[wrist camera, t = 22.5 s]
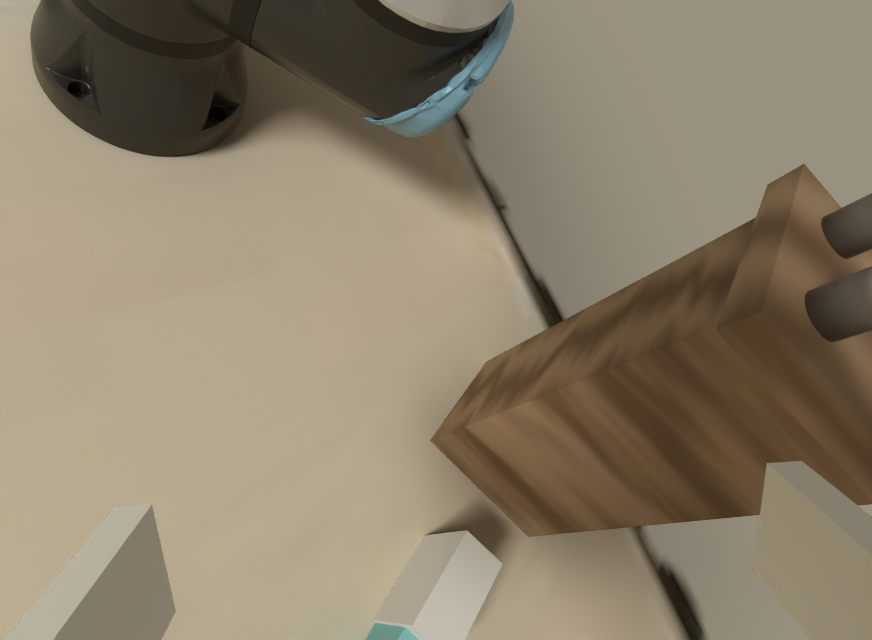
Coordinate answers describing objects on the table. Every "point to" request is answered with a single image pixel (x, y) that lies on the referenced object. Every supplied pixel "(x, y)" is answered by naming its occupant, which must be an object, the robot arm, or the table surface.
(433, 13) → the robot arm
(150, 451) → the table surface
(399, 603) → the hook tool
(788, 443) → the wooden pedestal stand
